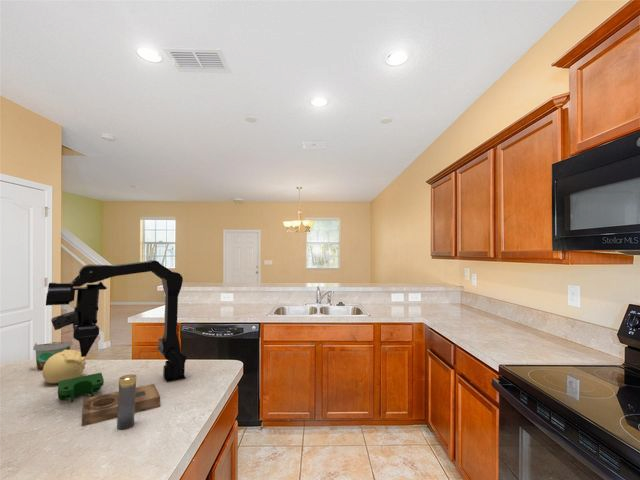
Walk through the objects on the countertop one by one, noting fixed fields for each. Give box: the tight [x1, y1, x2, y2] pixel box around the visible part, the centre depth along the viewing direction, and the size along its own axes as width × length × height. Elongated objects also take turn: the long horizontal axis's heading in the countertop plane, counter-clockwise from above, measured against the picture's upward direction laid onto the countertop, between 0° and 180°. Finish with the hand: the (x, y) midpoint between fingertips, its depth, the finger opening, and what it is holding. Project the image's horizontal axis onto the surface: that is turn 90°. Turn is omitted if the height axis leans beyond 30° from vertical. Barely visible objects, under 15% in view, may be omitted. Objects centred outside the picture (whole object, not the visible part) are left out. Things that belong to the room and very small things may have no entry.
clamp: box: [57, 372, 104, 403], centre depth 100 cm, size 12×6×9 cm, turn 129°
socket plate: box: [81, 383, 161, 427], centre depth 94 cm, size 19×11×3 cm, turn 127°
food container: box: [33, 339, 74, 371], centre depth 123 cm, size 12×6×10 cm, turn 118°
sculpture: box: [42, 349, 87, 384], centre depth 113 cm, size 11×12×11 cm
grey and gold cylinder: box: [116, 373, 137, 431], centre depth 85 cm, size 4×4×13 cm
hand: (83, 352), depth 100 cm, fingers open, 9 cm apart
